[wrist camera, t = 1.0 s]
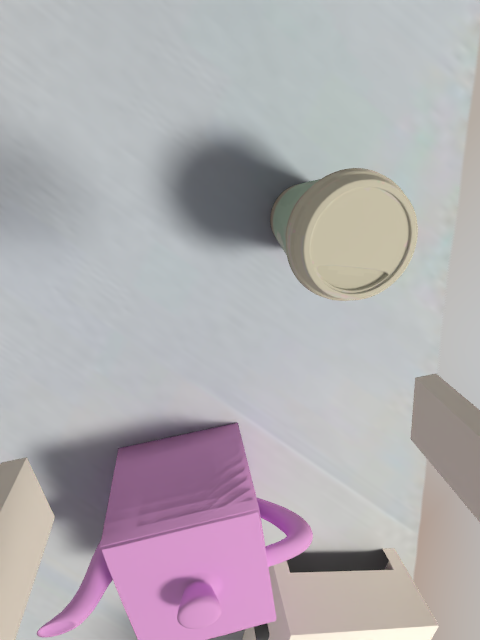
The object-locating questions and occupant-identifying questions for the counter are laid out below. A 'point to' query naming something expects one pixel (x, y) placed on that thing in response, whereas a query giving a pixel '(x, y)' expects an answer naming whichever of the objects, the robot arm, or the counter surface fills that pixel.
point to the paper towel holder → (348, 605)
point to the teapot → (186, 541)
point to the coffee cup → (346, 233)
